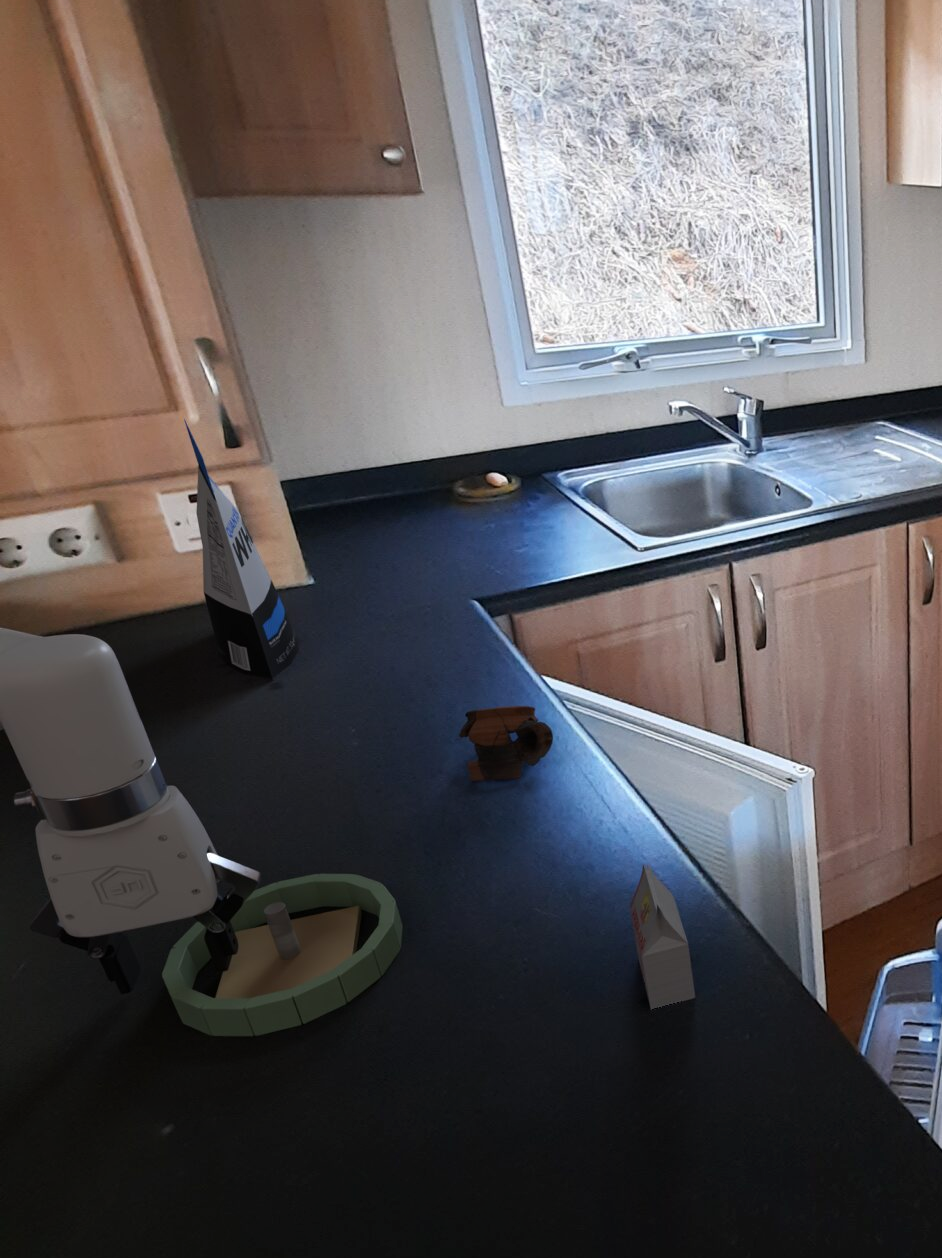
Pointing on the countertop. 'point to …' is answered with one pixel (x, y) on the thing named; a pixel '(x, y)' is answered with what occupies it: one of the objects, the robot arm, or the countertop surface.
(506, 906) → the countertop surface
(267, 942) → the stand
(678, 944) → the gable top carton
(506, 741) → the pottery mug
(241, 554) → the protein powder
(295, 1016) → the hoop
